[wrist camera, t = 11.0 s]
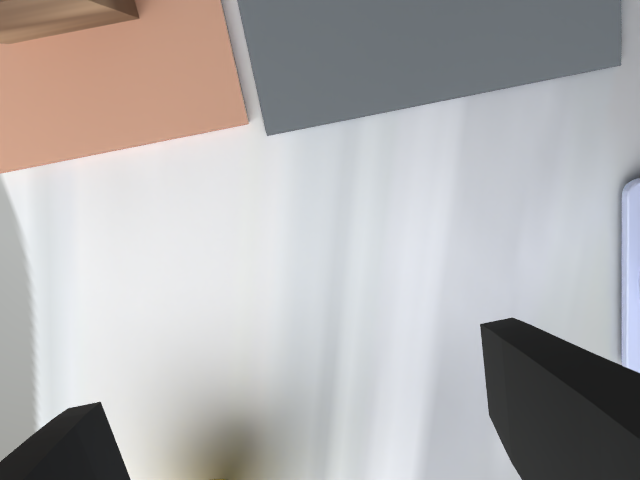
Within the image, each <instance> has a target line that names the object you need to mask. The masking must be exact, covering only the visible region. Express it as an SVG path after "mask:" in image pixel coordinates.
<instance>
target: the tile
mask: <svg viewBox="0 0 640 480" xmlns="http://www.w3.org/2000/svg"><path fill="white" fill-rule="evenodd" d="M135 3H136V7H137V11H138V14H139V18H140V19H135V20H130V21H125V22H120V23H115V24H110V25H105V26H100V27H94V28H89V29H84V30H79V31H74V32H69V33H64V34H59V35H54V36H48V37H43V38H38V39H33V40H28V41H23V42H18V43H13V44H1V43H0V173H6V172H11V171H16V170H21V169H26V168H31V167H36V166H41V165H46V164H51V163H56V162H61V161H66V160H71V159H76V158H81V157H86V156H91V155H96V154H101V153H106V152H111V151H116V150H121V149H126V148H131V147H136V146H141V145H146V144H151V143H156V142H161V141H166V140H171V139H176V138H181V137H186V136H191V135H196V134H201V133H206V132H211V131H216V130H221V129H226V128H231V127H236V126H241V125H246V124H249V121H248V116H247V112H246V107H245V103H244V99H243V94H242V90H241V86H240V81H239V77H238V72H237V68H236V64H235V59H234V55H233V50H232V46H231V42H230V37H229V33H228V28H227V24H226V20H225V15H224V11H223V6H222V2H221V0H135Z"/></svg>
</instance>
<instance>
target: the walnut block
mask: <svg viewBox="0 0 640 480" xmlns="http://www.w3.org/2000/svg"><path fill="white" fill-rule="evenodd" d="M135 19H140V18H139V14H138V11H137V7H136V3H135V0H0V43H1V44H13V43H18V42H23V41H28V40H33V39H38V38H43V37H48V36H54V35H59V34H64V33H69V32H74V31H79V30H84V29H89V28H94V27H100V26H105V25H110V24H115V23H120V22H125V21H130V20H135Z"/></svg>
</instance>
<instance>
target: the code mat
mask: <svg viewBox="0 0 640 480" xmlns="http://www.w3.org/2000/svg"><path fill="white" fill-rule="evenodd" d="M237 1H238V5H239V10H240V14H241V19H242V23H243V28H244V33H245V37H246V42H247V46H248V51H249V56H250V60H251V65H252V69H253V74H254V78H255V83H256V88H257V92H258V97H259V101H260V106H261V111H262V115H263V120H264V124H265V129H266V133H267V136H269V135H274V134H279V133H284V132H289V131H294V130H299V129H305V128H310V127H315V126H320V125H325V124H330V123H335V122H340V121H345V120H350V119H355V118H360V117H365V116H370V115H375V114H380V113H385V112H390V111H395V110H400V109H405V108H410V107H415V106H420V105H425V104H430V103H435V102H440V101H445V100H450V99H455V98H460V97H465V96H470V95H475V94H480V93H485V92H490V91H495V90H500V89H505V88H510V87H515V86H520V85H525V84H530V83H535V82H540V81H545V80H550V79H555V78H560V77H565V76H570V75H575V74H580V73H585V72H590V71H595V70H600V69H605V68H610V67H615V66H620V65H621V0H237Z"/></svg>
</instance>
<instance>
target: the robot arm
mask: <svg viewBox="0 0 640 480" xmlns="http://www.w3.org/2000/svg"><path fill="white" fill-rule="evenodd" d="M480 327H481V337H482V347H483V357H484V368H485V378H486V388H487V398H488V409H489V416H490V418H491V420H492V422H493V424H494V427H495V429H496V431H497V433H498V435H499V437H500V440H501V442H502V444H503V446H504V448H505V450H506V452H507V454H508V456H509V458H510V460H511V462H512V464H513V466H514V467H515V469H516V470H517V472H518V474H519V475H520V477H521V479H522V480H640V178H638V179H634V180H632V181H630V182H629V183H627V184H626V185H625V187H624V189H623V192H622V365H623V366H622V365H619V364H617V363H614V362H612V361H610V360H607V359H605V358H603V357H600V356H598V355H596V354H594V353H591V352H589V351H587V350H585V349H582V348H580V347H578V346H576V345H574V344H571V343H569V342H567V341H565V340H563V339H560V338H558V337H556V336H554V335H552V334H550V333H547V332H545V331H543V330H541V329H539V328H536V327H534V326H532V325H530V324H527V323H525V322H522V321H520V320H517V319H515V318H508V319H503V320H498V321H493V322H489V323H484V324H480ZM0 480H130V477H129V474H128V472H127V469H126V467H125V464H124V461H123V459H122V456H121V454H120V451H119V448H118V446H117V443H116V441H115V438H114V435H113V433H112V430H111V428H110V425H109V422H108V420H107V417H106V415H105V412H104V409H103V407H102V404H101V402H97V403H92V404H87V405H82V406H78V407H73V408H68V409H67V410H65V411H64V412H62V413H61V414H59V415H58V416H56V417H55V418H54V419H52V420H51V421H50V422H48V423H47V424H46V425H45V426H43V427H42V428H41V429H40V430H38V431H37V432H36V433H35V434H33V435H32V436H31V437H30V438H28V439H27V440H26V441H25V442H24V443H22V444H21V445H20V446H19V447H17V448H16V449H15V450H14V451H13V452H12V453H10V454H9V455H8V456H7V457H5V458H4V459H3V460H2V461H1V462H0Z"/></svg>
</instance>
